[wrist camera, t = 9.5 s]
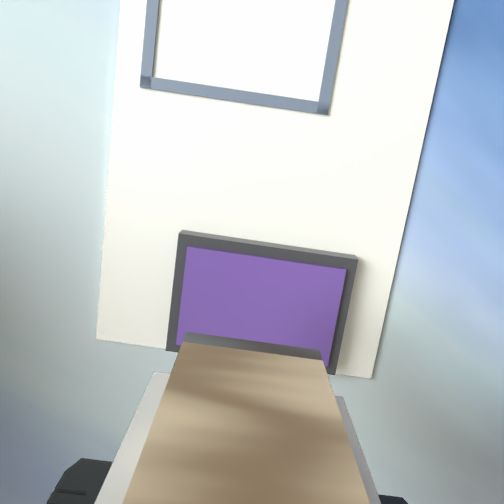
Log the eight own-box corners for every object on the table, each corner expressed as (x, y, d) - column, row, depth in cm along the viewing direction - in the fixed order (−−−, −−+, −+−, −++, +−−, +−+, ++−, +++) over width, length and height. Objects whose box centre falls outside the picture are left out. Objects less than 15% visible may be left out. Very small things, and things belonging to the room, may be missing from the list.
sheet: (97, 337, 28) (94, 340, 27) (134, -151, 22) (131, -158, 22) (369, 376, 28) (371, 380, 28) (473, -99, 23) (478, -105, 22)
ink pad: (169, 342, 28) (164, 352, 26) (182, 229, 26) (177, 234, 25) (332, 365, 28) (336, 377, 26) (353, 254, 26) (359, 260, 25)
